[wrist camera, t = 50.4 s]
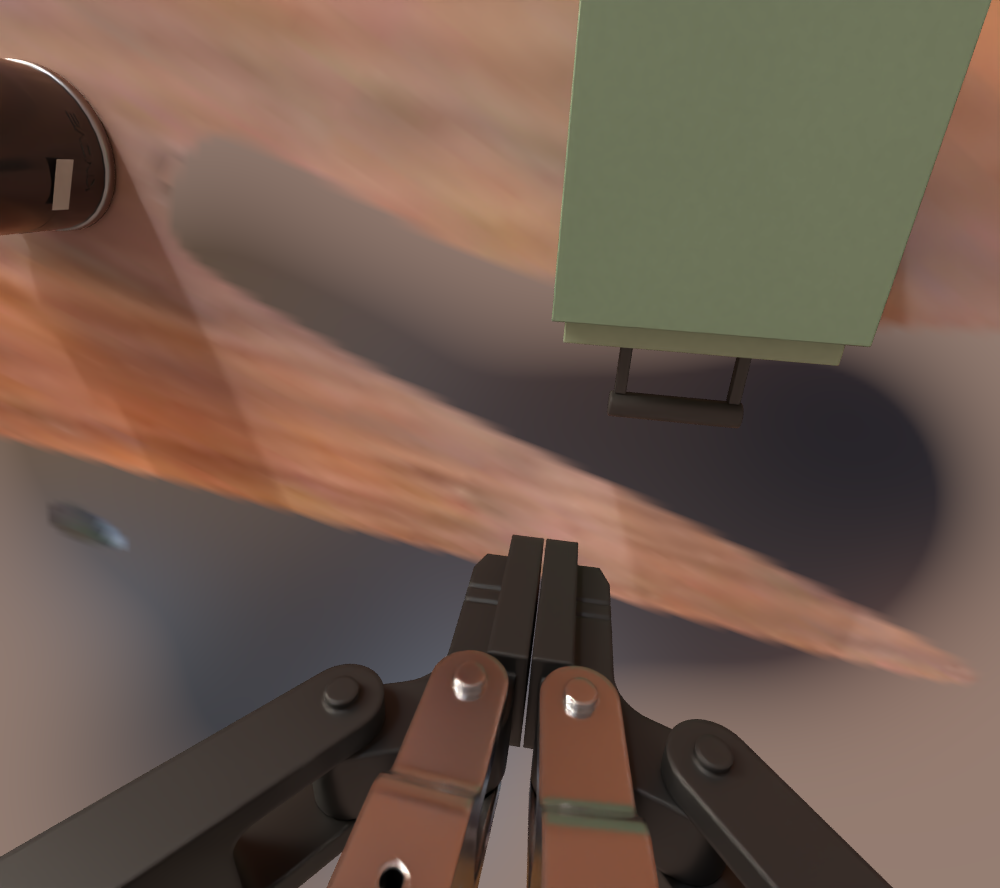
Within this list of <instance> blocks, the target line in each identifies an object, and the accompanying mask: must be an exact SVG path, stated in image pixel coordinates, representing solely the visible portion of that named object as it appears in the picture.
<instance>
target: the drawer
mask: <svg viewBox="0 0 1000 888" xmlns="http://www.w3.org/2000/svg"><path fill="white" fill-rule="evenodd" d="M563 342H565V343H566V342H567V343H577V344H589V345H601V346H613V347H620V354H619V360H618V367H617V374H616V381H615V388H614V389H615V390H614V391H610V394H609V401H608V411H607V413H608V415H609V416H617V417H627V418H638V419H648V420H658V421H669V422H678V423H689V424H698V425H709V426H719V427H729V428H739V427H740V425H741V422H742V419H743V405H742V404H741V403H740V402H741V398H742V394H743V390H744V386H745V382H746V379H747V375H748V371H749V367H750V363H751V359H752V358H754V359H766V360H777V361H788V362H800V363H812V364H823V365H835V366H838V365H839V363H840V360H841V357H842V354H843V351H844V348H845V345H839V344H826V343H814V342H802V341H789V340H777V339H765V338H753V337H740V336H728V335H716V334H703V333H691V332H679V331H666V330H654V329H642V328H629V327H617V326H605V325H593V324H580V323H568V322H565V328H564V338H563ZM633 348H636V349H647V350H659V351H672V352H684V353H695V354H706V355H718V356H730V357H737V358H736V362H735V366H734V371H733V374H732V379H731V383H730V387H729V391H728V395H727V401H717V400H707V399H696V398H686V397H676V396H675V397H674V396H664V395H654V394H643V393H632V392H626V388H627V382H628V375H629V369H630V363H631V356H632V350H633Z"/></svg>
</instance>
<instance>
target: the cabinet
mask: <svg viewBox="0 0 1000 888" xmlns="http://www.w3.org/2000/svg"><path fill="white" fill-rule="evenodd" d="M990 3H991V0H580V4H579V15H578V26H577V38H576V49H575V61H574V72H573V83H572V95H571V106H570V118H569V129H568V140H567V152H566V163H565V174H564V186H563V197H562V209H561V220H560V231H559V243H558V254H557V266H556V277H555V288H554V300H553V312H552V321H556V322H568V323H580V324H593V325H605V326H617V327H629V328H642V329H654V330H666V331H679V332H691V333H703V334H716V335H728V336H740V337H753V338H765V339H777V340H789V341H802V342H814V343H826V344H839V345H851V346H863V347H870V346H871V345H872V342H873V338H874V336H875V333H876V330H877V327H878V324H879V322H880V319H881V316H882V313H883V310H884V307H885V304H886V302H887V299H888V296H889V293H890V290H891V287H892V284H893V281H894V279H895V276H896V273H897V270H898V267H899V264H900V261H901V258H902V256H903V253H904V250H905V247H906V244H907V241H908V238H909V236H910V233H911V230H912V227H913V224H914V221H915V218H916V215H917V213H918V210H919V207H920V204H921V201H922V198H923V195H924V192H925V190H926V187H927V184H928V181H929V178H930V175H931V172H932V169H933V167H934V164H935V161H936V158H937V155H938V152H939V149H940V147H941V144H942V141H943V138H944V135H945V132H946V129H947V126H948V124H949V121H950V118H951V115H952V112H953V109H954V106H955V103H956V101H957V98H958V95H959V92H960V89H961V86H962V83H963V81H964V78H965V75H966V72H967V69H968V66H969V63H970V60H971V58H972V55H973V52H974V49H975V46H976V43H977V40H978V37H979V35H980V32H981V29H982V26H983V23H984V20H985V17H986V14H987V12H988V9H989V6H990Z"/></svg>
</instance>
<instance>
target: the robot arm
mask: <svg viewBox="0 0 1000 888" xmlns="http://www.w3.org/2000/svg"><path fill="white" fill-rule="evenodd" d="M114 188H115V165H114V158H113V153H112V150H111V146H110V143H109V140H108V137H107V135H106V132H105V130H104V128H103V126H102V124H101V122H100V120H99V118H98V117H97V115H96V113H95V112H94V110H93V109H92V107H91V106H90V105H89V103H88V102H87V101H86V100H85V98H84V97H83V96H82V95H81V94H80V93H79V92H78V90H77V89H75V88H74V87H73V86H72V85H71V84H70V83H69V82H68V81H66V80H65V79H64V78H63V77H61V76H60V75H58V74H57V73H55V72H53V71H52V70H50V69H48V68H46V67H43V66H41V65H38V64H35V63H31V62H27V61H22V60H17V59H2V58H0V235H9V234H21V233H31V232H41V231H51V230H57V231H67V230H76V229H82V228H85V227H88V226H90V225H92V224H94V223H95V222H96V221H98V220H99V219H100V218H101V217H102V216H103V215H104V213H105V212H106V211H107V209H108V207H109V205H110V203H111V200H112V197H113V193H114ZM543 544H544V539H543V538H535V537H527V536H519V535H513V536H512V540H511V544H510V549H509V554H508V556H501V555H493V554H487V555H486V556H485V557H484V558H483V559H482V560H481V561H480V562H479V563H478V564H477V565H476V566H475V567H474V569H473V572H472V576H471V579H470V582H469V587H468V589H467V592H466V596H465V601H464V602H463V606H462V609H461V613H460V616H459V619H458V623H457V626H456V629H455V633H454V636H453V639H452V643H451V647H450V649H449V652H448V655H447V656H446V657H445V658H443V659H442V660H441V661H440V662H438V664H437V665H436V666H435V668H434V669H433V671H432V672H431V673H430V674H428V675H426V676H424V677H421V678H418V679H415V680H410V681H405V682H397V683H389V684H383V683H382V681H381V679H380V677H379V676H378V674H376V673H375V672H374V671H373V670H371V669H370V668H367V667H365V666H362V665H357V664H343V665H339V666H334V667H331V668H329V669H327V670H325V671H323V672H321V673H319V674H317V675H316V676H314V677H312V678H310V679H309V680H307V681H305V682H304V683H302V684H300V685H298V686H296V687H295V688H293V689H291V690H290V691H288V692H286V693H284V694H283V695H281V696H279V697H277V698H276V699H274V700H272V701H270V702H269V703H267V704H265V705H263V706H262V707H260V708H258V709H257V710H255V711H253V712H251V713H250V714H248V715H246V716H245V717H243V718H241V719H239V720H237V721H236V722H234V723H232V724H230V725H229V726H227V727H225V728H224V729H222V730H220V731H218V732H216V733H215V734H213V735H211V736H210V737H208V738H206V739H204V740H203V741H201V742H199V743H197V744H196V745H194V746H192V747H190V748H189V749H187V750H185V751H183V752H182V753H180V754H178V755H176V756H175V757H173V758H171V759H170V760H168V761H166V762H164V763H163V764H161V765H159V766H157V767H156V768H154V769H152V770H150V771H149V772H147V773H145V774H143V775H142V776H140V777H138V778H137V779H135V780H133V781H131V782H130V783H128V784H126V785H124V786H123V787H121V788H119V789H117V790H116V791H114V792H112V793H111V794H109V795H107V796H105V797H103V798H102V799H100V800H98V801H97V802H95V803H93V804H92V805H90V806H88V807H86V808H84V809H83V810H81V811H79V812H77V813H76V814H74V815H72V816H71V817H69V818H67V819H65V820H63V821H62V822H60V823H58V824H57V825H55V826H53V827H51V828H50V829H48V830H46V831H44V832H43V833H41V834H39V835H37V836H36V837H34V838H32V839H30V840H29V841H27V842H25V843H24V844H22V845H20V846H18V847H16V848H15V849H13V850H11V851H10V852H8V853H6V854H4V855H3V856H1V857H0V888H298V887H299V886H301V885H302V884H303V883H305V882H306V881H307V880H308V879H309V878H311V877H312V876H313V875H314V874H316V873H317V872H318V871H319V870H320V869H322V868H323V867H324V866H325V865H327V864H328V863H329V862H330V861H331V860H333V859H334V858H335V857H336V856H338V855H339V854H340V853H341V852H342V854H341V856H340V858H339V861H338V863H337V865H336V867H335V870H334V872H333V874H332V876H331V879H330V881H329V883H328V886H327V888H478V885H479V880H480V876H481V871H482V867H483V863H484V858H485V853H486V849H487V845H488V841H489V836H490V832H491V827H492V823H493V818H494V814H495V809H496V805H497V800H498V796H499V791H500V787H501V780H502V778H503V776H504V773H505V769H506V763H507V756H508V748H509V745H511V746H517V747H520V741H521V733H522V725H523V717H524V709H525V701H526V692H527V685H528V677H529V669H530V661H531V653H532V645H533V637H534V628H535V621H536V612H537V604H538V593H539V584H540V574H541V564H542V554H543ZM577 562H578V543H576V542H568V541H560V540H552V539H547V540H546V548H545V557H544V565H543V573H542V581H541V589H540V598H539V606H538V614H537V623H536V630H535V639H534V647H533V655H532V664H531V675H530V685H529V695H528V705H527V716H526V725H525V735H524V745H523V747H525V748H531V749H533V758H532V768H531V769H532V770H531V778H530V788H529V807H528V808H529V809H528V848H527V888H893V887H891V886H890V885H889V884H888V883H887V882H886V881H885V880H884V879H883V878H882V877H881V876H880V875H879V874H878V873H877V872H876V871H875V870H874V869H873V868H872V867H871V866H870V865H869V864H868V863H867V862H866V861H865V860H864V859H863V858H862V857H861V856H860V855H859V854H858V853H857V852H856V851H855V850H854V849H853V848H852V847H850V845H849V844H848V843H847V842H846V841H845V840H844V839H842V838H841V837H840V836H839V835H838V834H837V833H836V832H835V831H834V830H833V829H832V828H831V827H830V826H829V825H828V824H827V823H826V822H825V821H824V820H823V819H822V818H821V817H820V816H819V815H818V814H817V813H816V812H815V811H814V810H813V809H812V808H811V807H810V806H809V805H808V804H807V803H806V802H805V801H804V800H803V799H802V798H801V797H800V796H799V795H798V794H797V793H795V791H794V790H793V789H791V787H789V786H788V785H787V784H786V783H785V782H784V781H783V780H782V779H781V778H780V777H779V776H778V775H777V774H776V773H775V772H774V771H773V770H772V769H771V768H770V767H769V766H768V765H767V764H766V763H765V762H764V761H763V760H762V759H761V758H760V757H759V756H758V755H757V754H756V753H755V752H754V751H753V750H752V749H751V748H750V747H749V746H748V745H747V744H745V742H744V741H742V740H741V739H740V738H739V737H738V736H737V735H736V734H734V733H733V732H732V731H730V730H728V729H727V728H725V727H723V726H722V725H719V724H717V723H714V722H711V721H707V720H700V719H692V720H687V721H683V722H681V723H679V724H678V725H676V726H675V727H674V728H673V729H670V728H668V727H666V726H664V725H662V724H660V723H657V722H655V721H653V720H651V719H649V718H647V717H645V716H643V715H641V714H640V713H638V712H637V711H635V710H634V709H633V708H632V707H631V706H630V705H628V703H627V702H626V701H625V700H624V699H623V697H622V696H621V695H620V693H619V691H618V689H617V687H616V684H615V681H614V671H613V650H612V627H611V606H610V585H609V583H608V581H607V580H606V578H605V576H604V575H603V573H602V571H601V570H600V568H595V567H587V566H579V565H577Z"/></svg>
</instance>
